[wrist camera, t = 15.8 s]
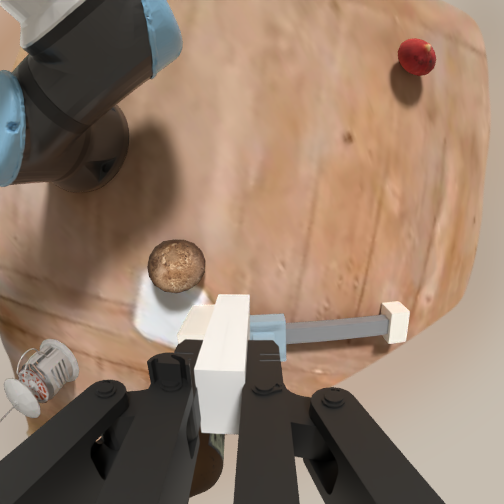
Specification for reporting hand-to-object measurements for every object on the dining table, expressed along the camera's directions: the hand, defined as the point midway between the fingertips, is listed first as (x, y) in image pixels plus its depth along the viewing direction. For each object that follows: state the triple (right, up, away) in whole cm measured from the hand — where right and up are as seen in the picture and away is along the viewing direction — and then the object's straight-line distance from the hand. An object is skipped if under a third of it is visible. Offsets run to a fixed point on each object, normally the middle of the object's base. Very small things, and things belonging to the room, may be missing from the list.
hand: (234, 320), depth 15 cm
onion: (+25, +32, +23) cm, 47 cm away
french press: (-36, -17, +35) cm, 53 cm away
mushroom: (-9, +2, +31) cm, 32 cm away
